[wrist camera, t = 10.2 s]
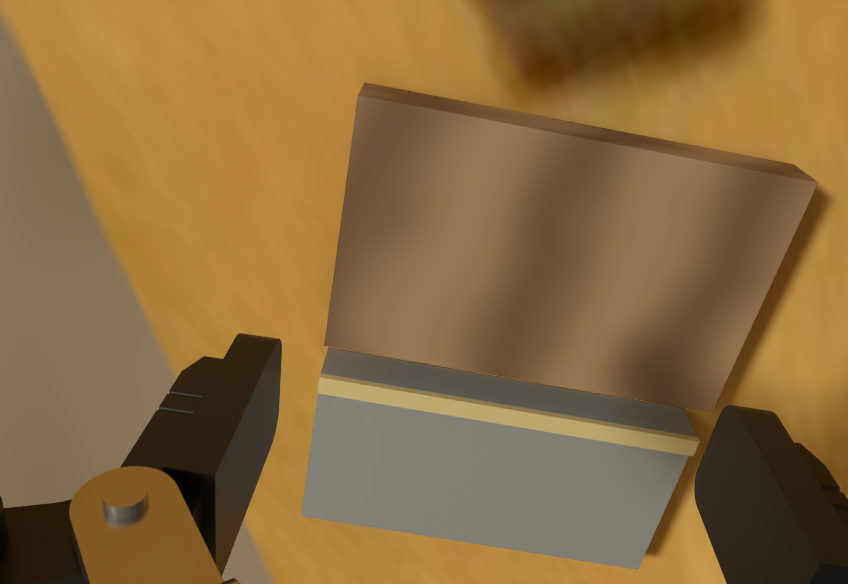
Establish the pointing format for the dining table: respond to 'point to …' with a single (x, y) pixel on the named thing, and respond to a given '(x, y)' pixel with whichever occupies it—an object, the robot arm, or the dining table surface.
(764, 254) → the walnut plank
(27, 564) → the robot arm
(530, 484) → the board
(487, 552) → the dining table surface
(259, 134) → the dining table surface
